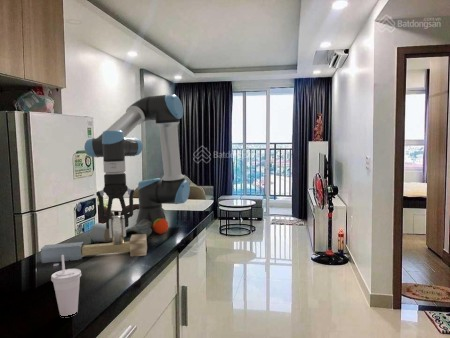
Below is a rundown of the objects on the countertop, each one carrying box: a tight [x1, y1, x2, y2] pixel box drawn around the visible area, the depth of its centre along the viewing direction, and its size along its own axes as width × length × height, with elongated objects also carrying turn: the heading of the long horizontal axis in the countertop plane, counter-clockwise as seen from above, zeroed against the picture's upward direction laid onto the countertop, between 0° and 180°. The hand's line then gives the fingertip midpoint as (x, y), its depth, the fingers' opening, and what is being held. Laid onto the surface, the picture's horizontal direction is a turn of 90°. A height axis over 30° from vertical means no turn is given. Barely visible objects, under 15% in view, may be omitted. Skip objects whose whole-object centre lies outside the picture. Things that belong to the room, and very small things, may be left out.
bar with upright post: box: [81, 214, 130, 257], centre depth 123 cm, size 23×4×13 cm, turn 101°
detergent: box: [124, 219, 153, 242], centre depth 146 cm, size 13×7×25 cm
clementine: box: [152, 218, 169, 235], centre depth 152 cm, size 8×7×7 cm
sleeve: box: [40, 241, 85, 264], centre depth 120 cm, size 13×5×5 cm, turn 101°
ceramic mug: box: [90, 222, 113, 243], centre depth 144 cm, size 11×8×8 cm
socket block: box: [129, 234, 148, 257], centre depth 125 cm, size 6×9×6 cm, turn 11°
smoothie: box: [50, 255, 82, 317], centre depth 78 cm, size 6×6×14 cm
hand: (118, 236), depth 124 cm, fingers closed on bar with upright post, 4 cm apart
